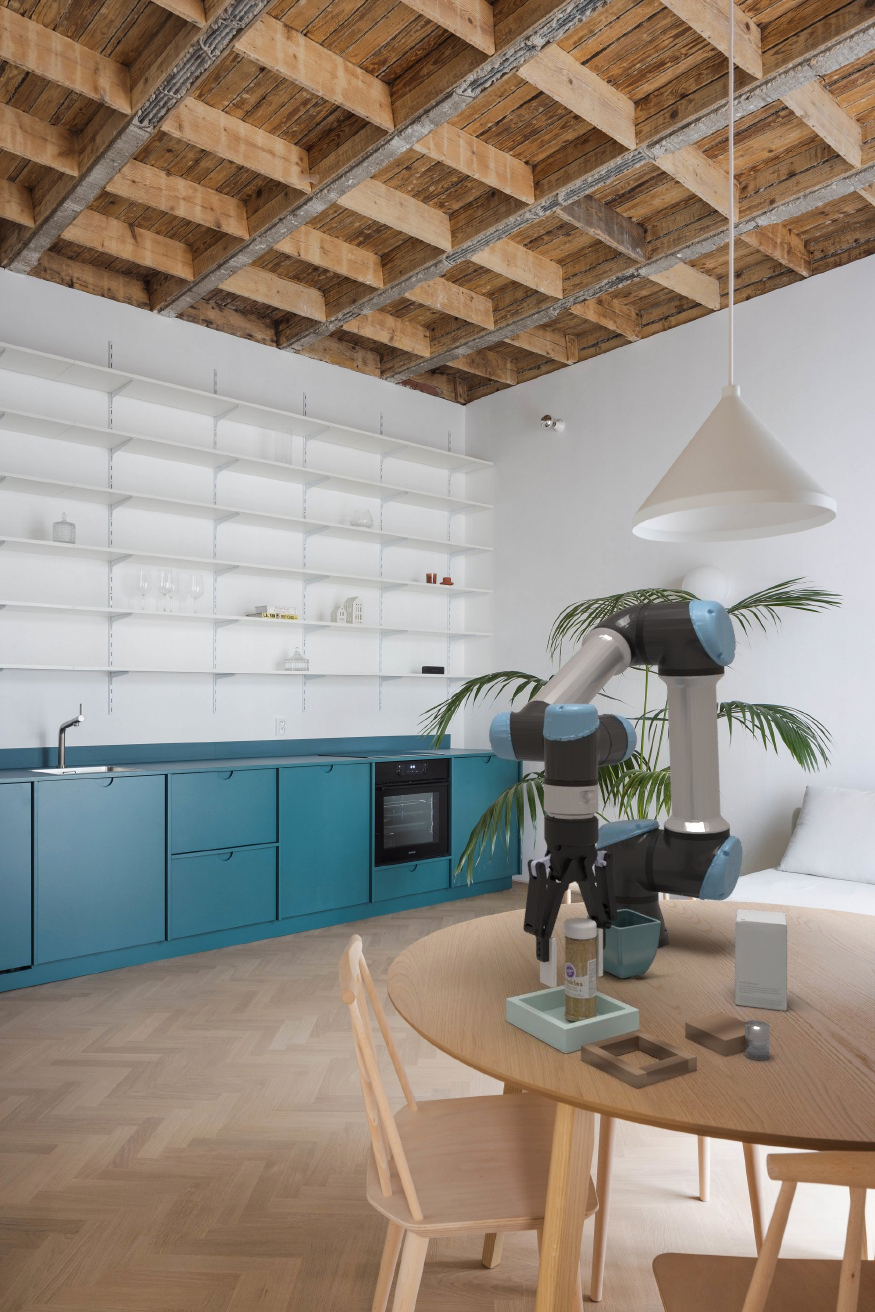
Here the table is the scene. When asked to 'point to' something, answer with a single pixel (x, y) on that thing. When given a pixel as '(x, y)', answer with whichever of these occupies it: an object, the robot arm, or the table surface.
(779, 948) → the supplement box
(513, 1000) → the tray
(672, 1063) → the socket block
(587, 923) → the sprinkles bottle
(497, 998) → the table surface
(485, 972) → the table surface
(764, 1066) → the table surface
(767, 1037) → the bench dog
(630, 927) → the flower pot
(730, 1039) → the square wooden coaster
